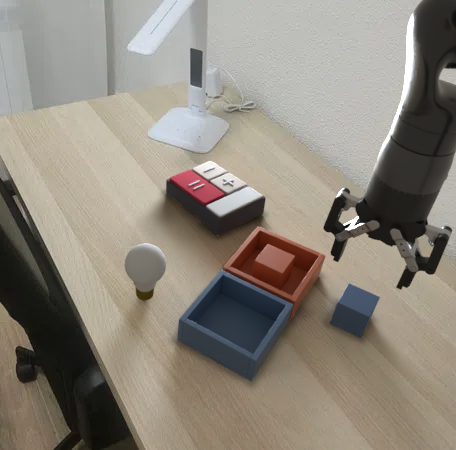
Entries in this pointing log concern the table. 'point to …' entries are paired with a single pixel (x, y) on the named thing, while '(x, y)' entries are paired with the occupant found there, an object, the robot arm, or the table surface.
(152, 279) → the light bulb
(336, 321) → the blue block
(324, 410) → the table surface
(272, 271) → the terracotta block
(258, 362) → the blue bin
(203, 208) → the calculator
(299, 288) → the terracotta bin
